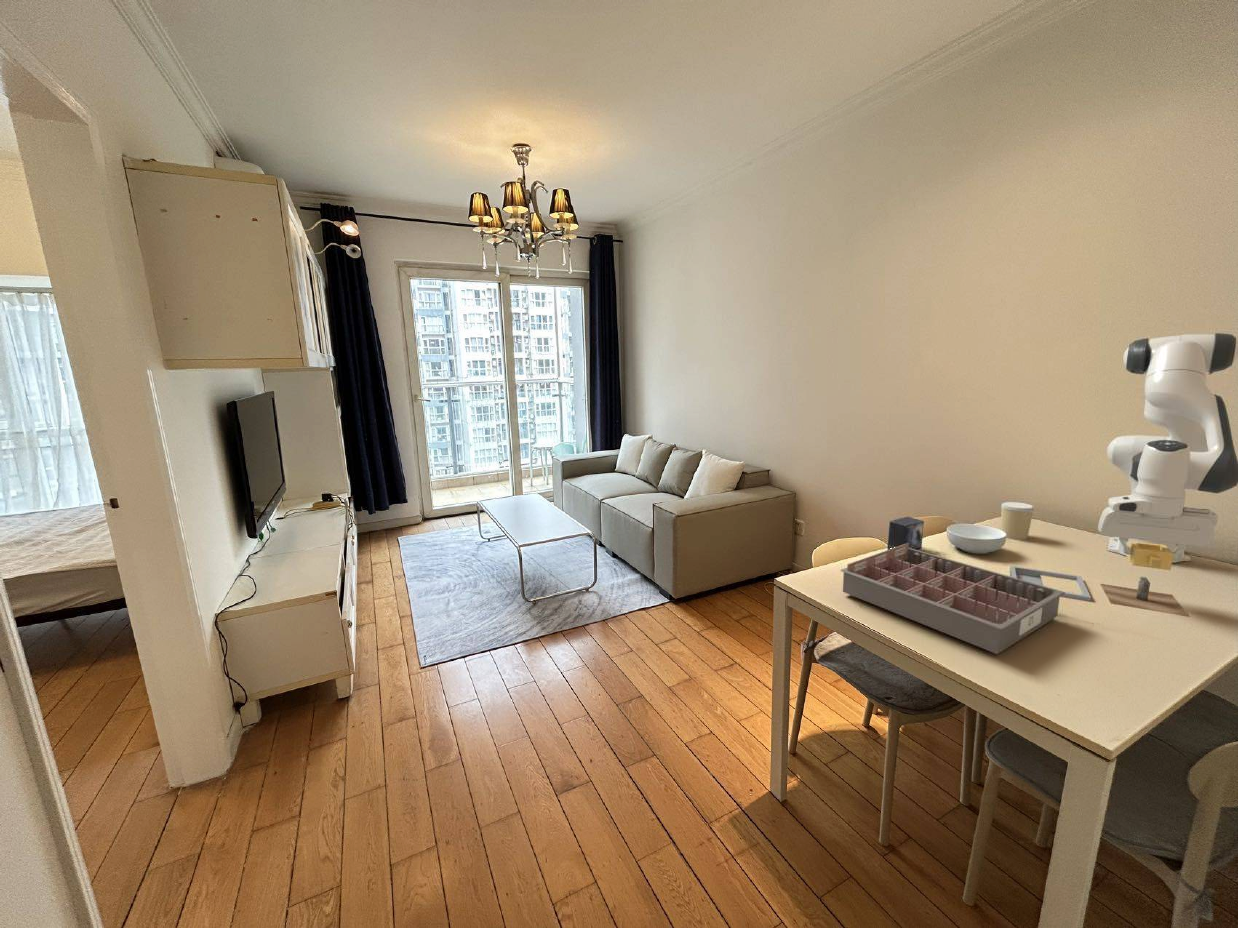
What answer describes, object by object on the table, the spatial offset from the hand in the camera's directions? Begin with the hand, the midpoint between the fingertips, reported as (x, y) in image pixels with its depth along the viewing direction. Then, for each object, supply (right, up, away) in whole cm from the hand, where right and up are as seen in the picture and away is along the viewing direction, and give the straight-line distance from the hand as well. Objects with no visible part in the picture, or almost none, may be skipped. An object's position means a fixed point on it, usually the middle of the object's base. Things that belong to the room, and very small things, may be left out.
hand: (1149, 556), depth 129 cm
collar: (-1, -2, -1) cm, 2 cm away
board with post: (0, -13, +2) cm, 13 cm away
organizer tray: (-50, -15, +5) cm, 53 cm away
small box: (-36, -6, +47) cm, 60 cm away
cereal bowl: (-14, -6, +44) cm, 46 cm away
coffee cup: (+9, -3, +55) cm, 56 cm away
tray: (-15, -12, +13) cm, 23 cm away
